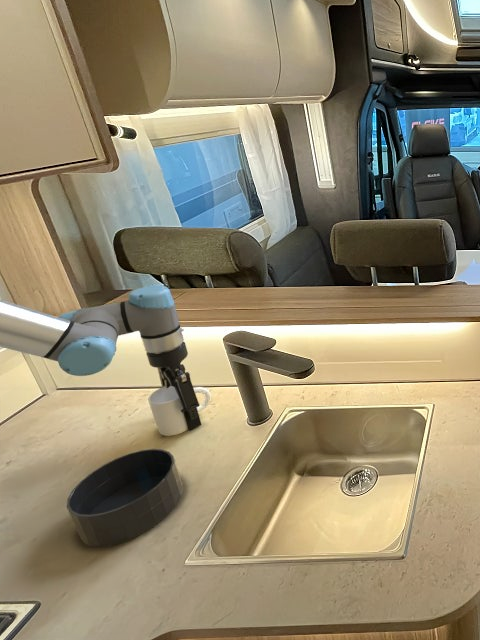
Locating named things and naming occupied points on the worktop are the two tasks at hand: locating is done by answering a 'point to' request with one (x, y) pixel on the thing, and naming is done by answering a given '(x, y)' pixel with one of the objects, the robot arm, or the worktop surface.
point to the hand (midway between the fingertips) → (187, 420)
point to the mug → (172, 409)
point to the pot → (125, 497)
